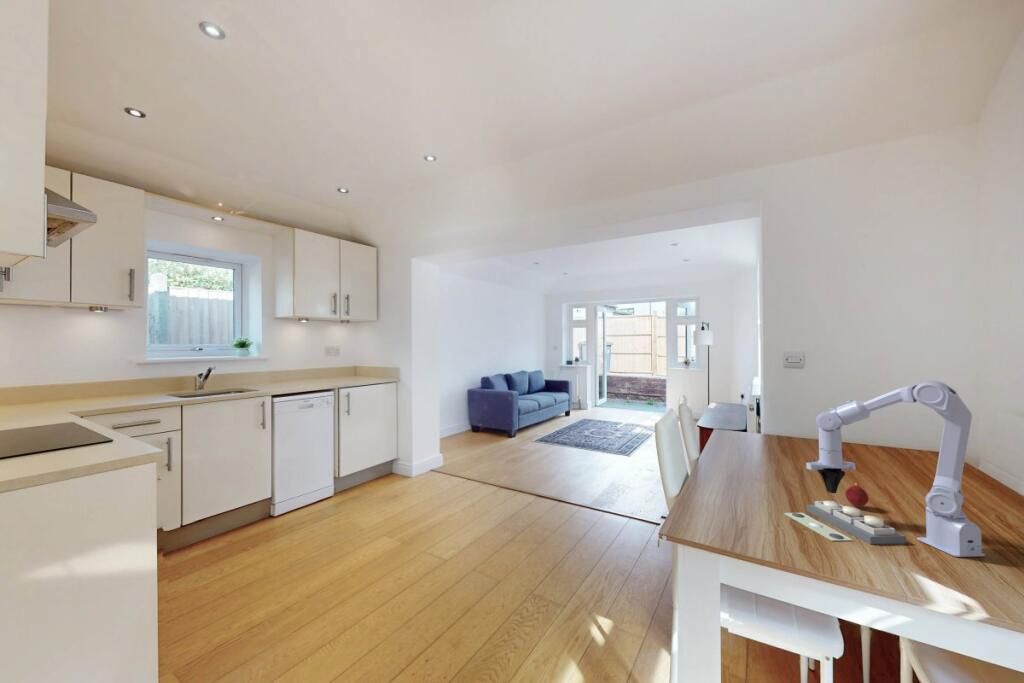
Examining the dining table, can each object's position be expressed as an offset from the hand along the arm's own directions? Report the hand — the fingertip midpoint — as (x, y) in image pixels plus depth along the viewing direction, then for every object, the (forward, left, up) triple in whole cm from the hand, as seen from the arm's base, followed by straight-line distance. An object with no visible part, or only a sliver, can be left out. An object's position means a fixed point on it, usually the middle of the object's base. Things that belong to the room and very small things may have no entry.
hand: (831, 492), depth 124 cm
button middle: (-7, 0, -4) cm, 8 cm away
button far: (0, 0, -5) cm, 5 cm away
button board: (-7, 0, -8) cm, 10 cm away
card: (-7, +11, -8) cm, 15 cm away
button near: (-14, 0, -4) cm, 15 cm away
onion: (+6, -14, -8) cm, 17 cm away
